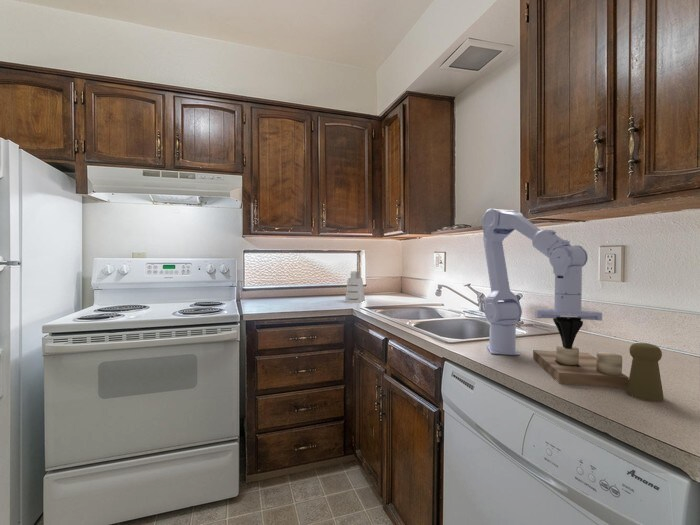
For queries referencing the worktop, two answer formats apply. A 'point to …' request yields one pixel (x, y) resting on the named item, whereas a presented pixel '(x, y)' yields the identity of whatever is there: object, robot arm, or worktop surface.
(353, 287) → the grater
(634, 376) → the olive pawn piece
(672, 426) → the worktop surface
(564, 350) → the peg
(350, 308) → the worktop surface
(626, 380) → the board
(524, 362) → the worktop surface
